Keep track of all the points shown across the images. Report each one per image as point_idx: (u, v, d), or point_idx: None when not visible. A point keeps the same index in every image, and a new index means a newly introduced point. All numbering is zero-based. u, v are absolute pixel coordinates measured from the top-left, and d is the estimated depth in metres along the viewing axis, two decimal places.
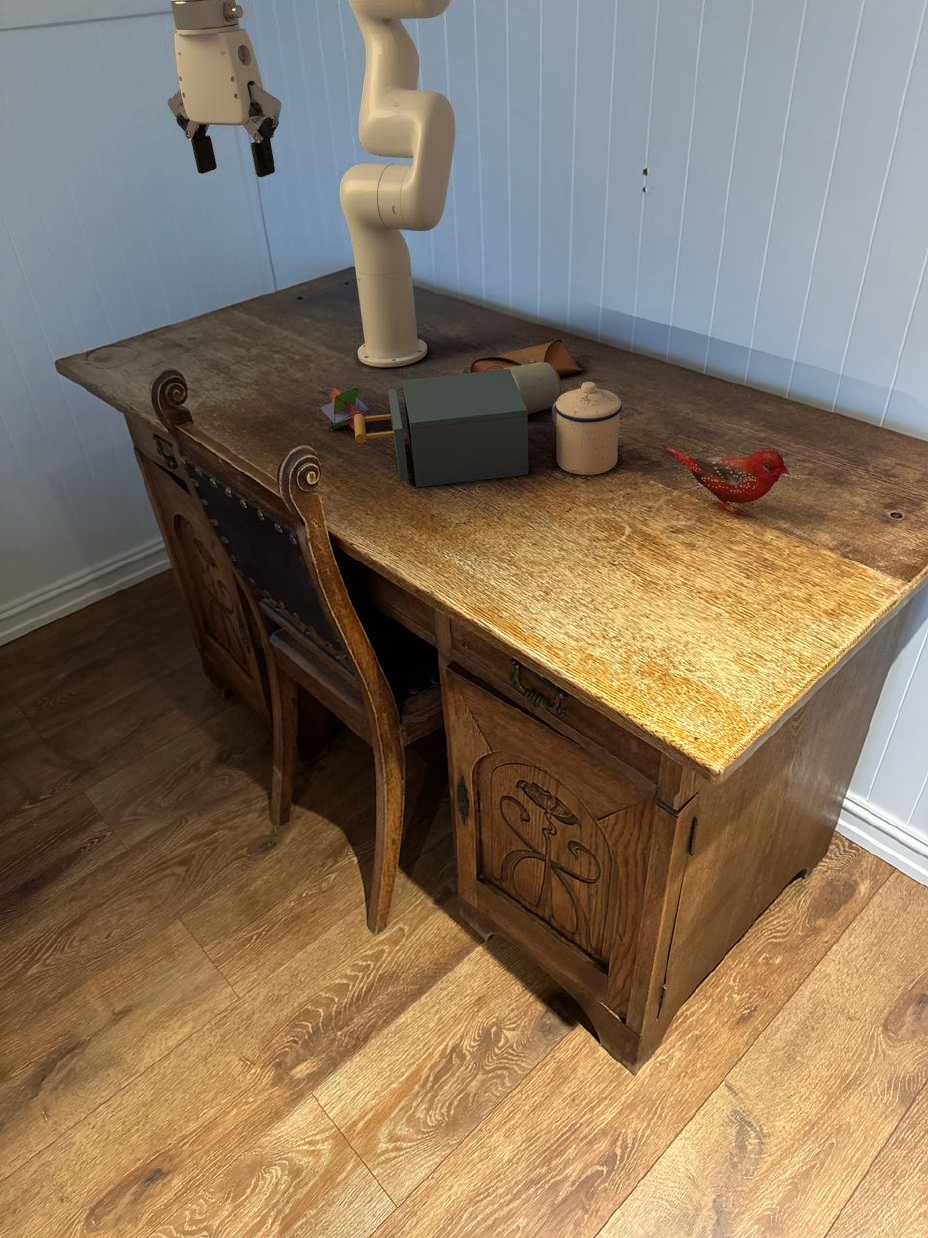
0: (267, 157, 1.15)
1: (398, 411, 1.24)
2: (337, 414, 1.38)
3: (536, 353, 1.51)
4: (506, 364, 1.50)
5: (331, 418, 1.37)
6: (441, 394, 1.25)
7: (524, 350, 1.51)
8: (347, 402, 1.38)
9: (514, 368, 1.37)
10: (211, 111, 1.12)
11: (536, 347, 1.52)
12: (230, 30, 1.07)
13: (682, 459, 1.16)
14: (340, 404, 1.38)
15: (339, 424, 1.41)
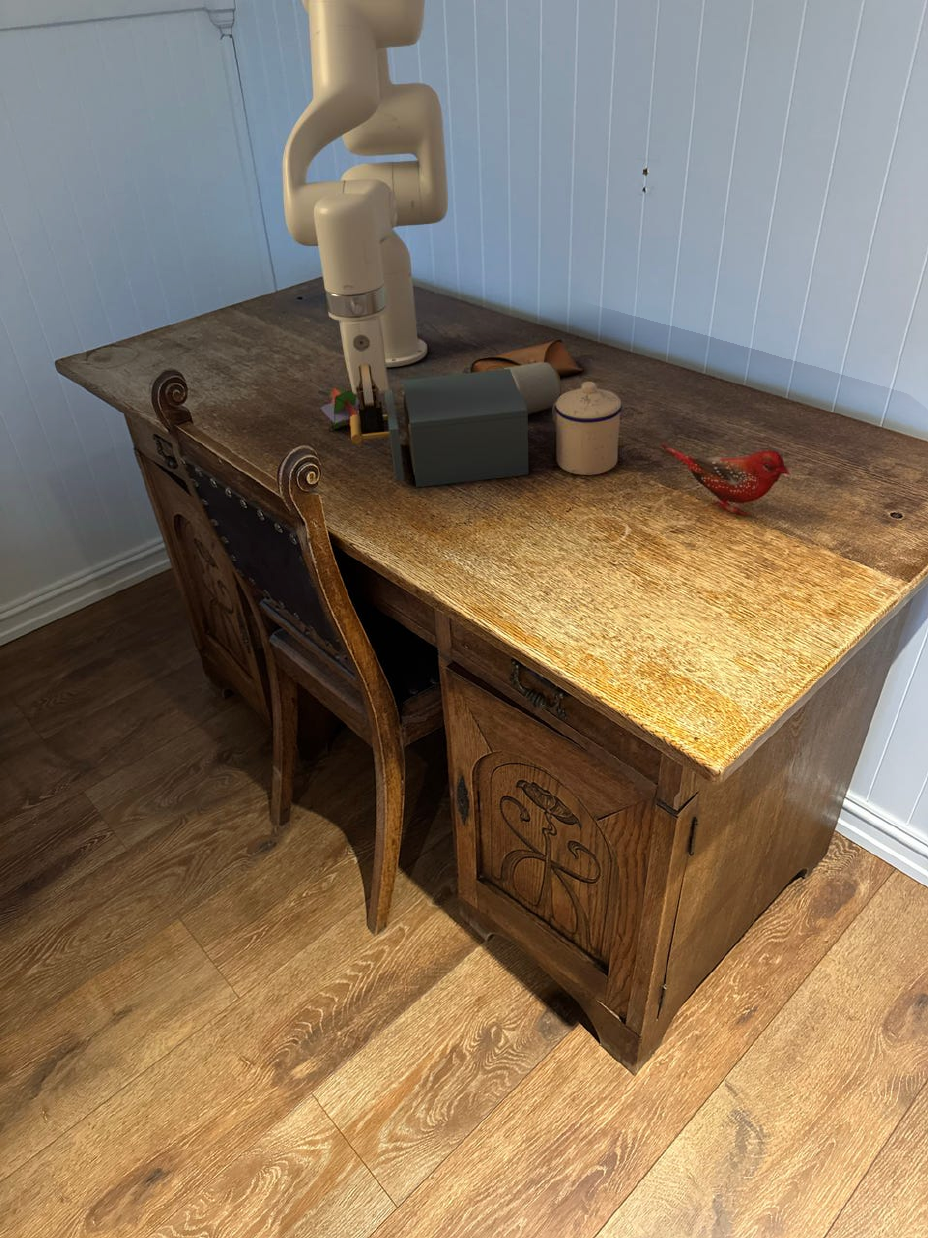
0: (368, 422, 1.24)
1: (394, 411, 1.24)
2: (337, 414, 1.38)
3: (536, 353, 1.51)
4: (506, 364, 1.50)
5: (331, 418, 1.37)
6: (441, 394, 1.25)
7: (524, 350, 1.51)
8: (347, 402, 1.38)
9: (514, 368, 1.37)
10: None
11: (536, 347, 1.52)
12: (354, 321, 1.13)
13: (682, 459, 1.16)
14: (340, 404, 1.38)
15: (339, 424, 1.41)
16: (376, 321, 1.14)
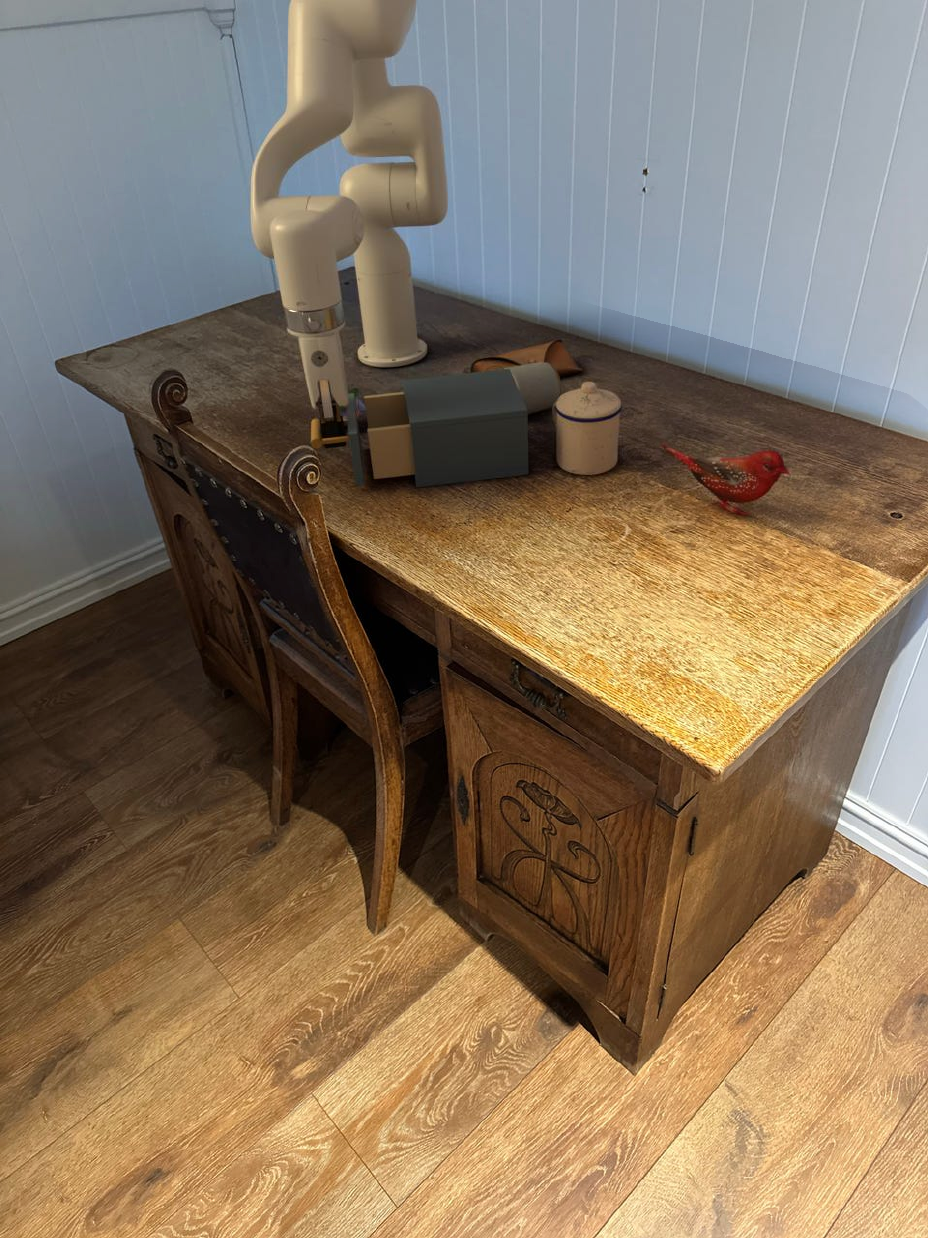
0: (330, 436, 1.25)
1: (354, 416, 1.24)
2: None
3: (536, 353, 1.51)
4: (506, 364, 1.50)
5: None
6: (441, 394, 1.25)
7: (524, 350, 1.51)
8: None
9: (514, 368, 1.37)
10: None
11: (536, 347, 1.52)
12: (312, 336, 1.14)
13: (682, 459, 1.16)
14: None
15: None
16: (334, 337, 1.14)
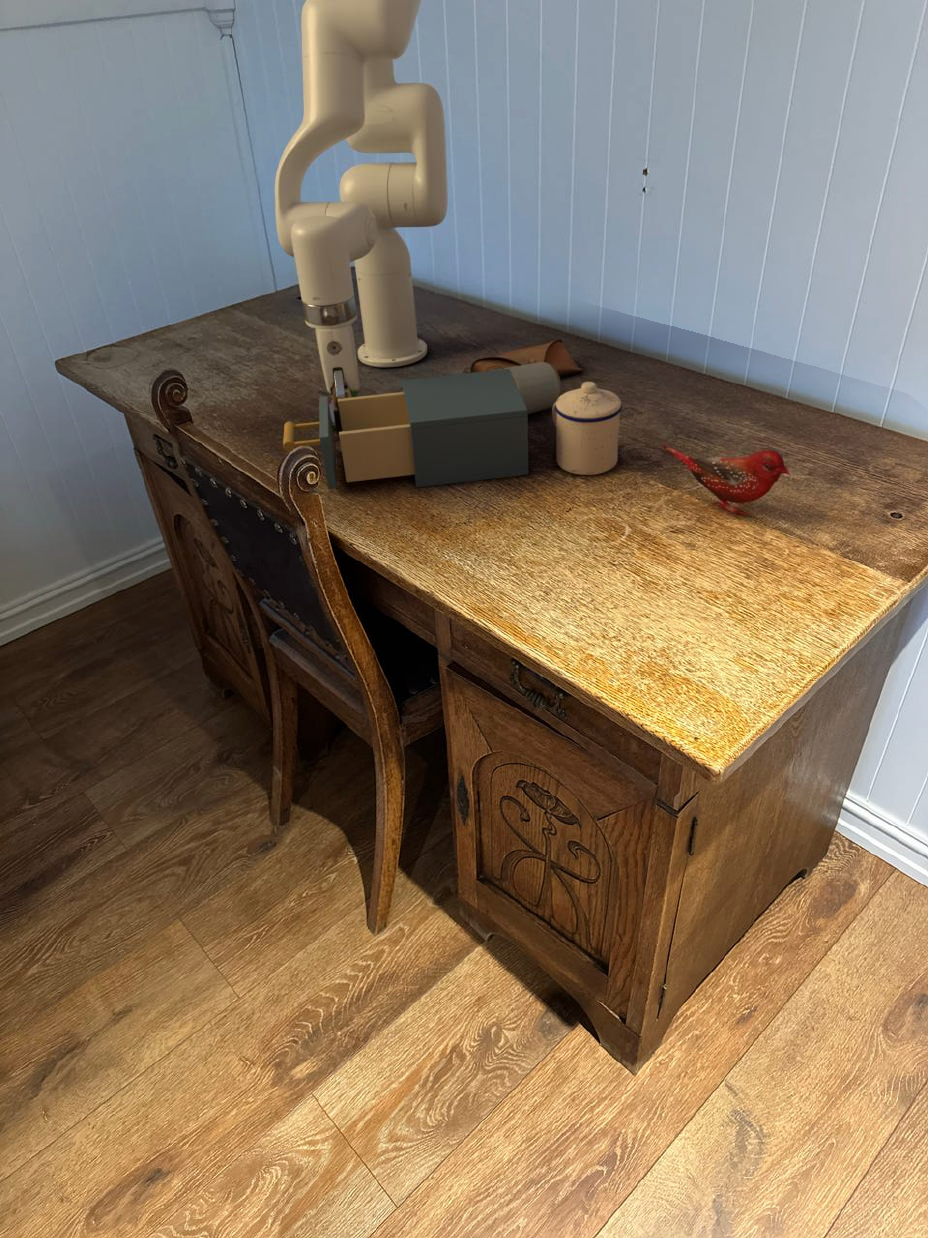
0: None
1: (326, 419, 1.24)
2: None
3: (536, 353, 1.51)
4: (506, 364, 1.50)
5: (331, 418, 1.37)
6: (441, 394, 1.25)
7: (524, 350, 1.51)
8: None
9: (514, 368, 1.37)
10: None
11: (536, 347, 1.52)
12: (328, 328, 1.28)
13: (682, 459, 1.16)
14: None
15: None
16: (347, 328, 1.28)
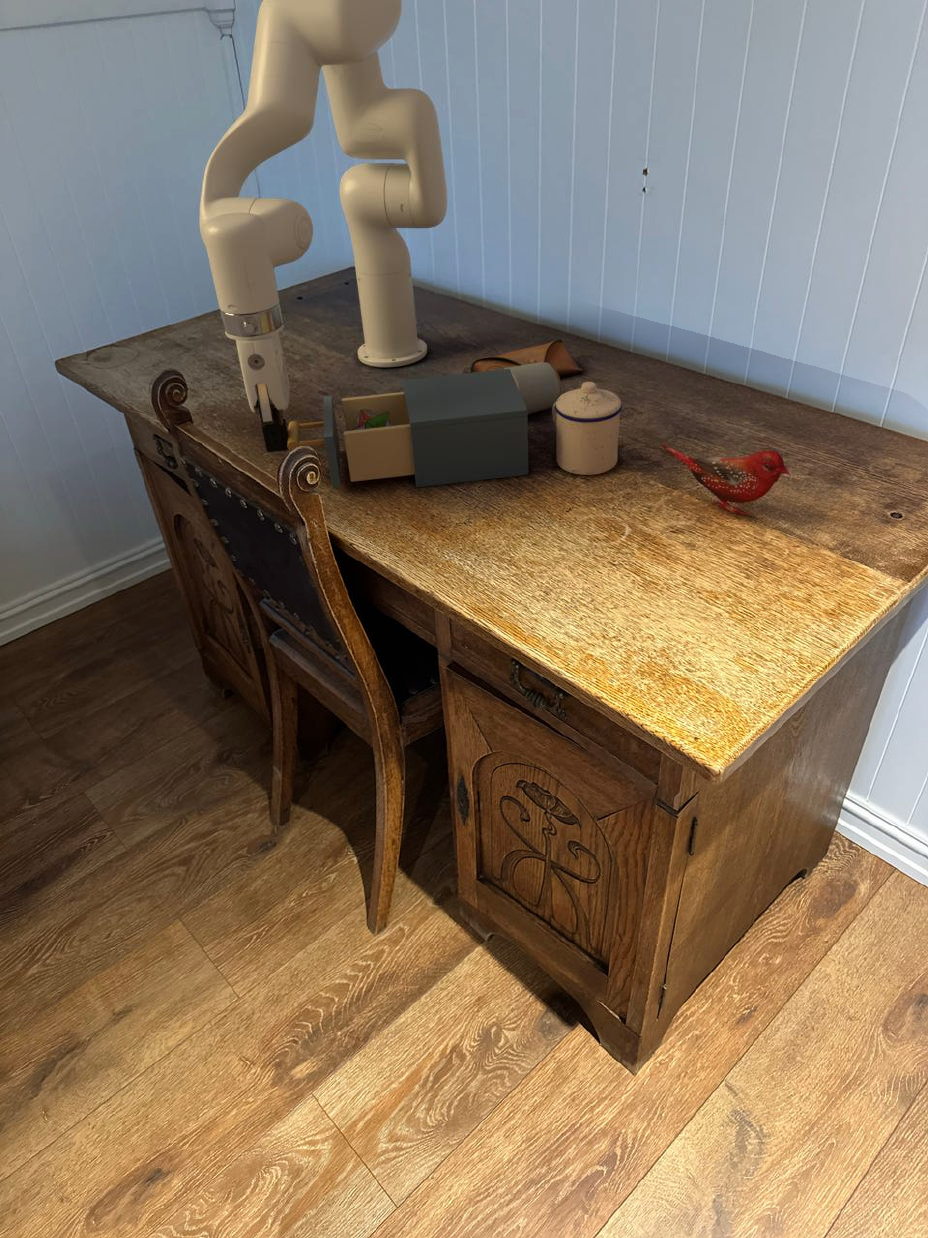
0: (272, 439, 1.24)
1: (330, 418, 1.24)
2: None
3: (536, 354, 1.51)
4: (506, 364, 1.50)
5: None
6: (441, 394, 1.25)
7: (524, 350, 1.51)
8: (378, 427, 1.26)
9: (514, 368, 1.37)
10: None
11: (536, 347, 1.52)
12: (248, 340, 1.13)
13: (682, 459, 1.16)
14: None
15: None
16: (270, 340, 1.13)
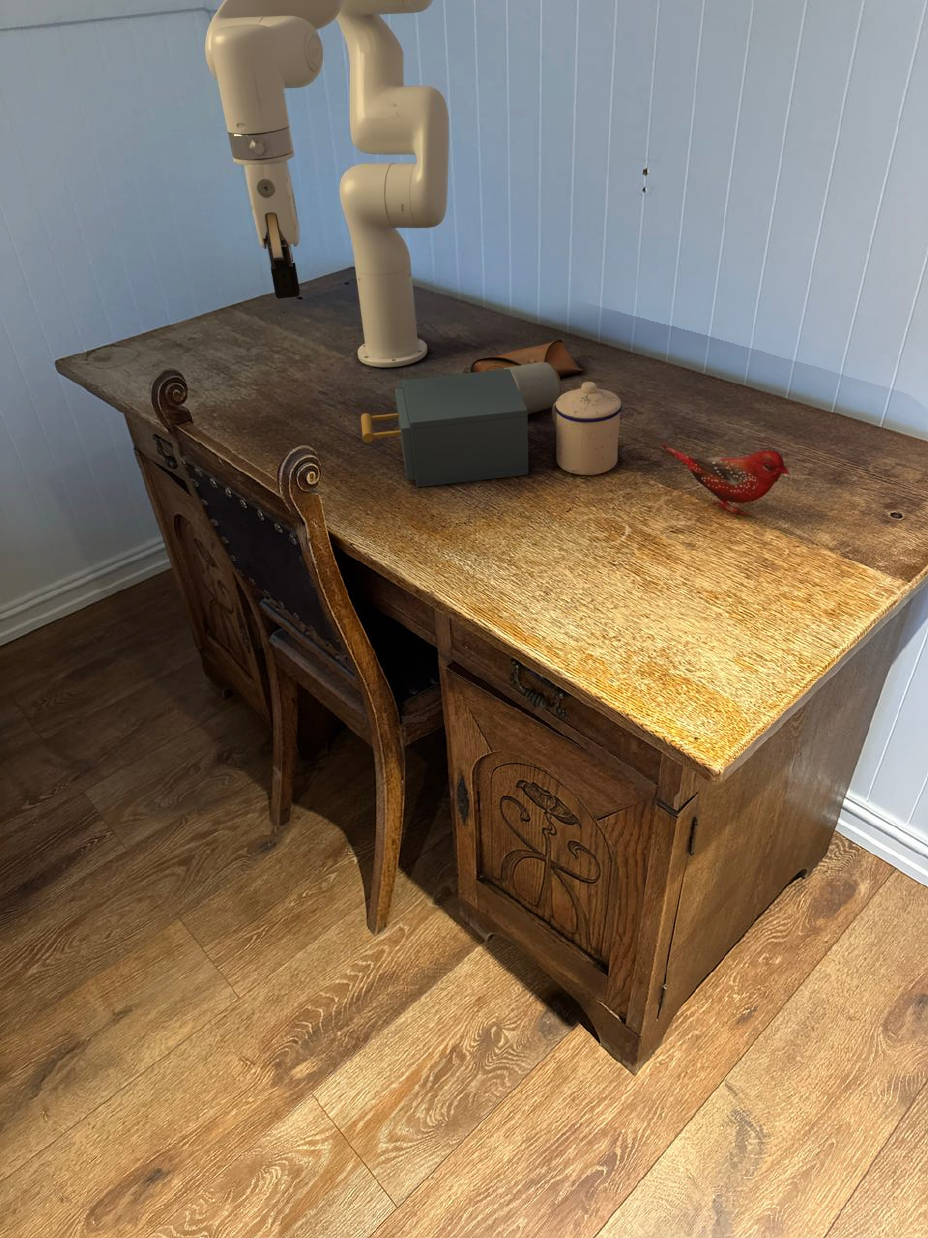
0: (281, 283, 1.19)
1: (405, 410, 1.24)
2: None
3: (536, 354, 1.51)
4: (506, 364, 1.50)
5: None
6: (441, 394, 1.25)
7: (524, 350, 1.51)
8: None
9: (514, 368, 1.37)
10: None
11: (536, 347, 1.52)
12: (257, 164, 1.08)
13: (682, 459, 1.16)
14: None
15: None
16: (281, 164, 1.09)
